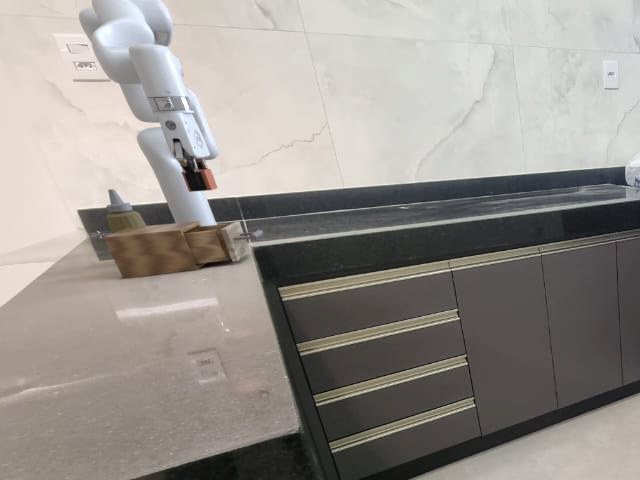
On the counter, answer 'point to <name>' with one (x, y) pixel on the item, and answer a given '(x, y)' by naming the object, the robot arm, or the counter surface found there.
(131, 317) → the counter surface
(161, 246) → the cabinet
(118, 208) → the squeeze bottle
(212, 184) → the block
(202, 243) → the drawer
